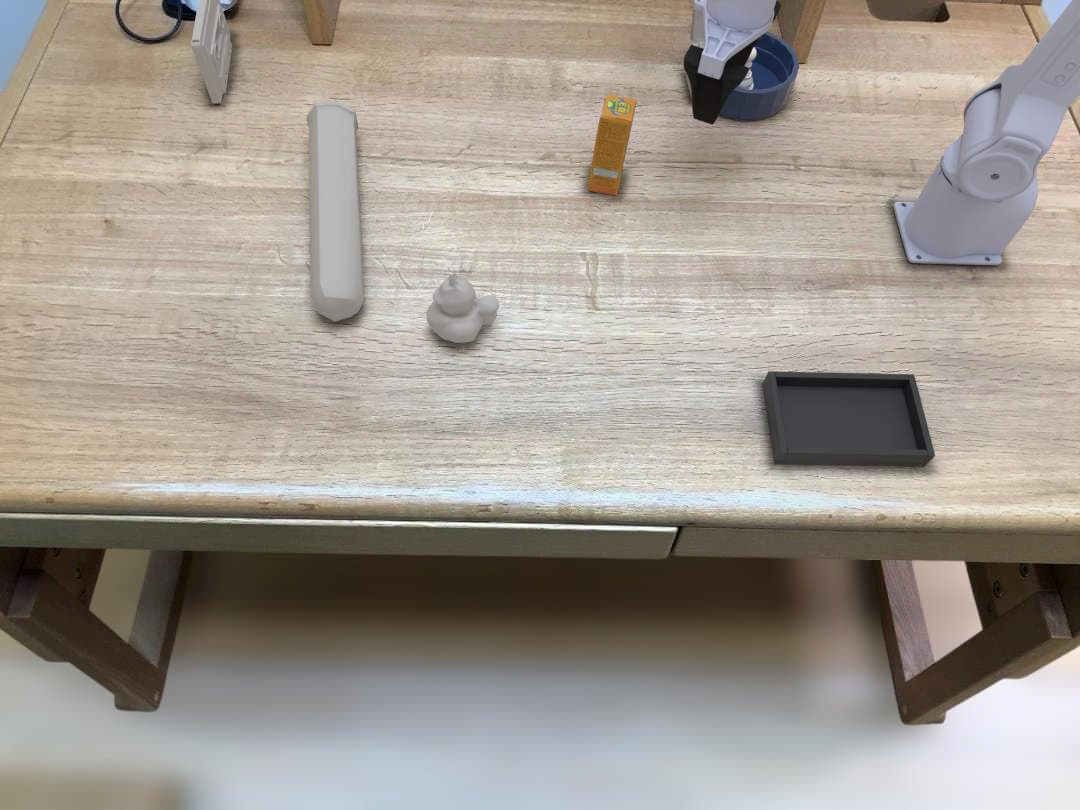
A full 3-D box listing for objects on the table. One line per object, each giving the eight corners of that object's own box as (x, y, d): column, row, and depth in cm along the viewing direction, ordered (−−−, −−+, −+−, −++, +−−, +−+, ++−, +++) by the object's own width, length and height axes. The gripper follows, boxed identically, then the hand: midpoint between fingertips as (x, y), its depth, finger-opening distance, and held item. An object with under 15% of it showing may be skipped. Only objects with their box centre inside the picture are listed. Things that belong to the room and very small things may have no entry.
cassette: (219, 35, 99) (198, -27, 92) (235, 34, 99) (216, -28, 93) (208, 105, 93) (185, 44, 87) (225, 105, 93) (204, 44, 87)
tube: (373, 299, 76) (362, 105, 88) (311, 292, 74) (309, 95, 86) (362, 333, 80) (353, 143, 92) (303, 328, 78) (303, 135, 90)
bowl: (781, 57, 101) (791, 28, 97) (795, 123, 95) (806, 94, 92) (687, 54, 100) (693, 24, 97) (695, 120, 95) (703, 91, 91)
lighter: (706, 99, 96) (721, 37, 89) (691, 99, 96) (705, 37, 89) (696, 57, 100) (710, -5, 93) (681, 58, 100) (694, -5, 93)
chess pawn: (740, 97, 96) (751, 59, 92) (723, 83, 97) (733, 45, 93) (758, 87, 97) (769, 49, 93) (740, 73, 98) (751, 36, 94)
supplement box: (619, 197, 88) (632, 121, 80) (587, 191, 89) (596, 115, 80) (624, 174, 90) (637, 98, 81) (592, 169, 90) (602, 92, 82)
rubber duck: (426, 307, 80) (419, 251, 74) (496, 301, 81) (495, 246, 74) (430, 355, 78) (423, 302, 71) (502, 348, 78) (502, 295, 72)
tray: (904, 386, 78) (914, 374, 76) (925, 466, 74) (935, 455, 72) (762, 383, 78) (768, 370, 76) (774, 464, 73) (781, 453, 72)
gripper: (733, -96, 75) (702, 39, 87) (677, -5, 68) (651, 128, 80) (811, -74, 73) (769, 60, 85) (761, 21, 67) (723, 152, 78)
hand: (717, 94), depth 82 cm, fingers open, 7 cm apart
